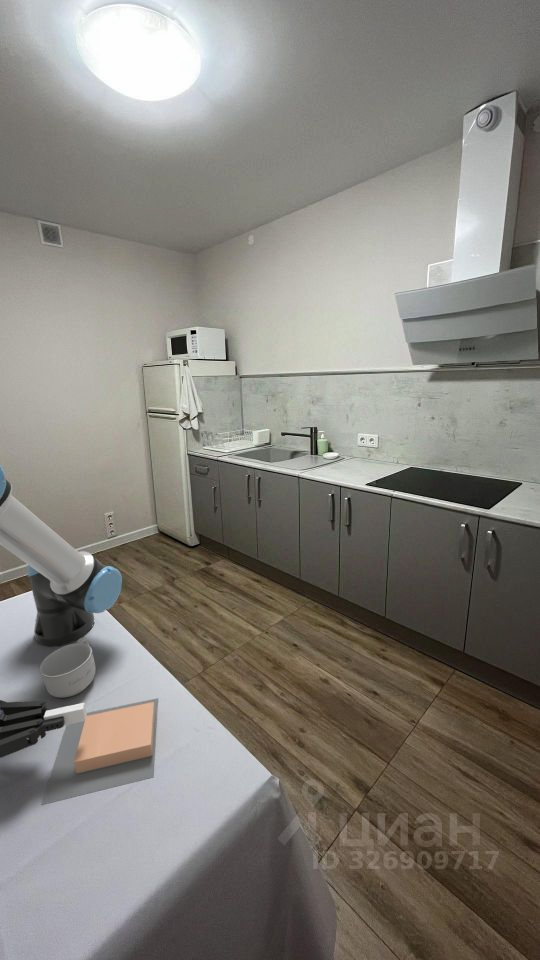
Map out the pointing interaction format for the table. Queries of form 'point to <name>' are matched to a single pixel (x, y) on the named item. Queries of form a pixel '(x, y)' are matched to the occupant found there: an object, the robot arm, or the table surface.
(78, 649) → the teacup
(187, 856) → the table surface
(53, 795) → the mat
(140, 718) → the tile
